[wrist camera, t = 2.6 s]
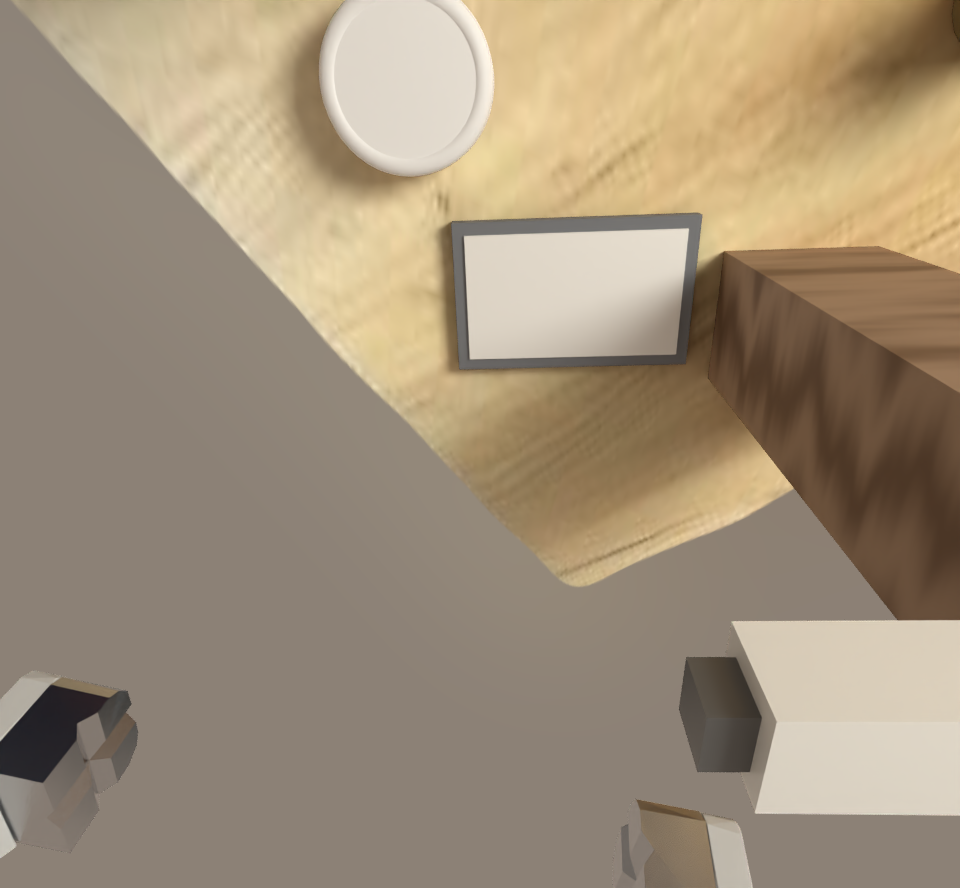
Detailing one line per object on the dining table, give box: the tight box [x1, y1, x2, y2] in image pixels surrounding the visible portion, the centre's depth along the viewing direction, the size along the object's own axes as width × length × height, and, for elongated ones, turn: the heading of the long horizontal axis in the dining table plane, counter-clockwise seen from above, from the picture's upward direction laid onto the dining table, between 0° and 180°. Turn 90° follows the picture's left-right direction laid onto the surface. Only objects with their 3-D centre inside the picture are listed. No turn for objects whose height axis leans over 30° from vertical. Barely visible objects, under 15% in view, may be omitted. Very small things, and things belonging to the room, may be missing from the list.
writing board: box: [451, 213, 702, 369], centre depth 44 cm, size 10×16×1 cm, turn 92°
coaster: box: [319, 0, 494, 177], centre depth 38 cm, size 10×10×4 cm
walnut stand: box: [708, 246, 960, 621], centre depth 30 cm, size 9×10×32 cm
